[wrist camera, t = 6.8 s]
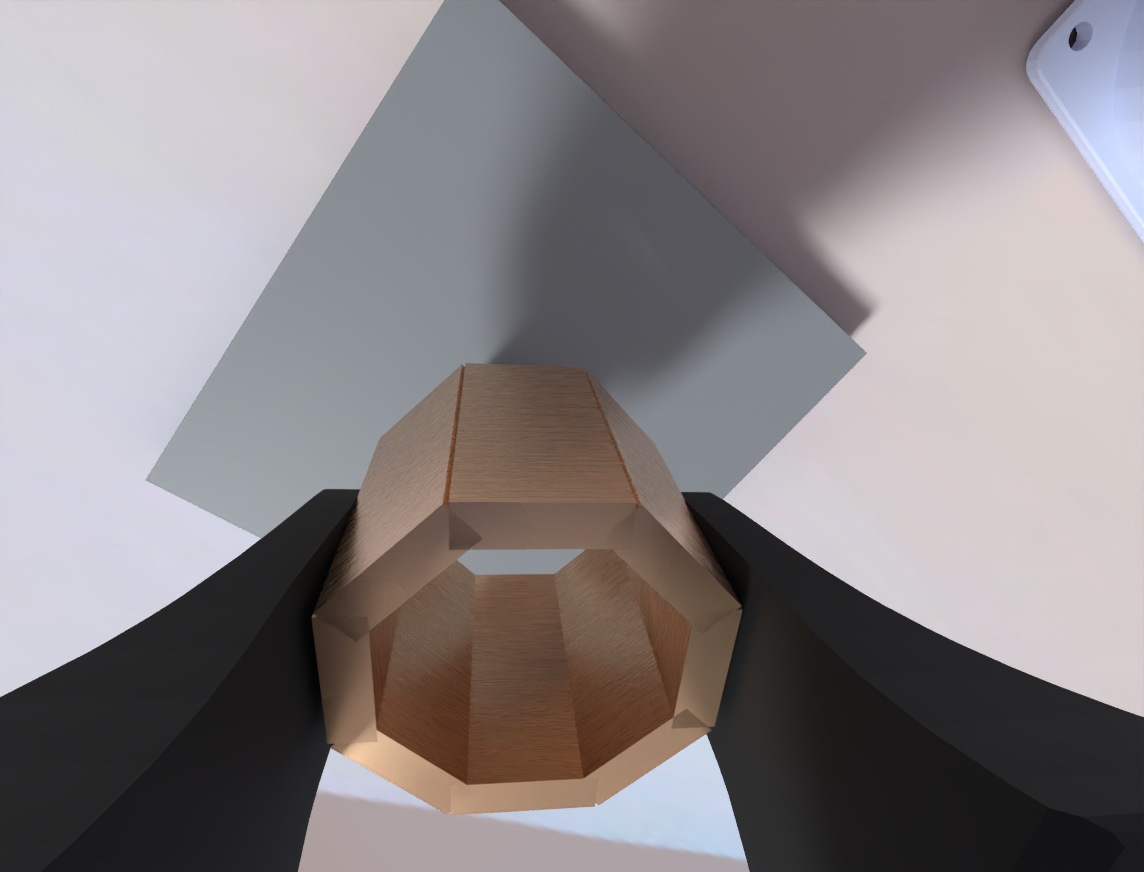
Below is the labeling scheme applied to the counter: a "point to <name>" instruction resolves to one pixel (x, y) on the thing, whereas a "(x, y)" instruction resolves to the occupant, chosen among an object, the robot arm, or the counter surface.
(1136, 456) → the counter surface
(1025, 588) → the counter surface
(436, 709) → the octagonal cardboard bin
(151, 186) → the counter surface
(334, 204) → the plate
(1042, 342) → the counter surface
